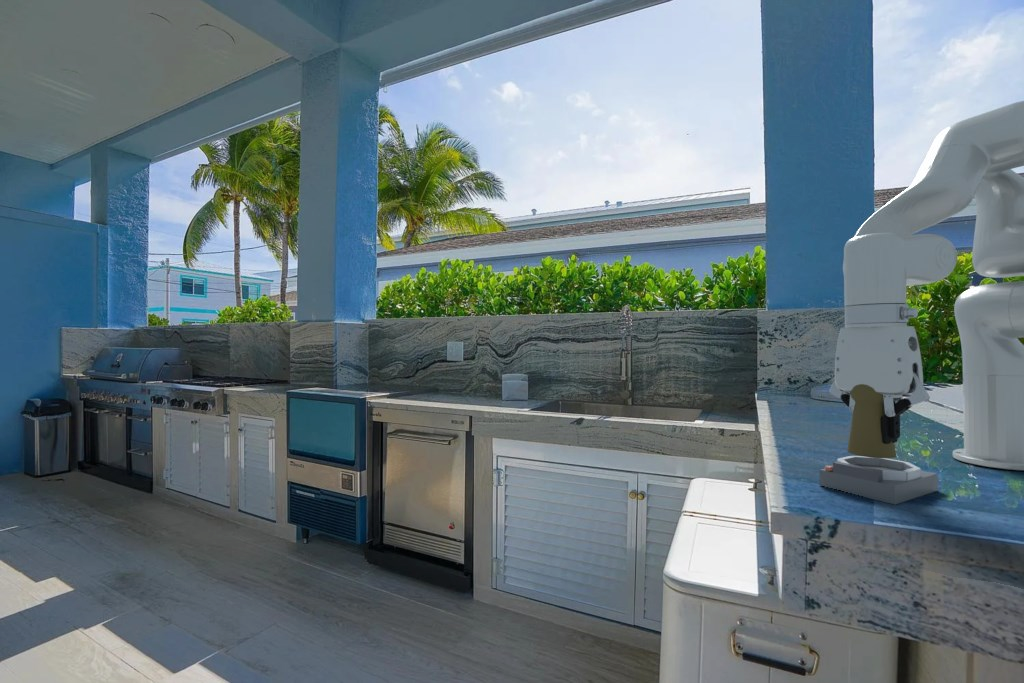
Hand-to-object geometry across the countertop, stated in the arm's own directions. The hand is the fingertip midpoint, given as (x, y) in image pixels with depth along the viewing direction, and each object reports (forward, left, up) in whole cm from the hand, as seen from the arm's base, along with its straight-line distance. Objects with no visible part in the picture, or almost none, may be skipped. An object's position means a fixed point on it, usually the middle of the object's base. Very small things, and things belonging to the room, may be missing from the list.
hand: (876, 439), depth 74 cm
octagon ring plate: (0, 0, -7) cm, 7 cm away
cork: (0, -1, -2) cm, 2 cm away
